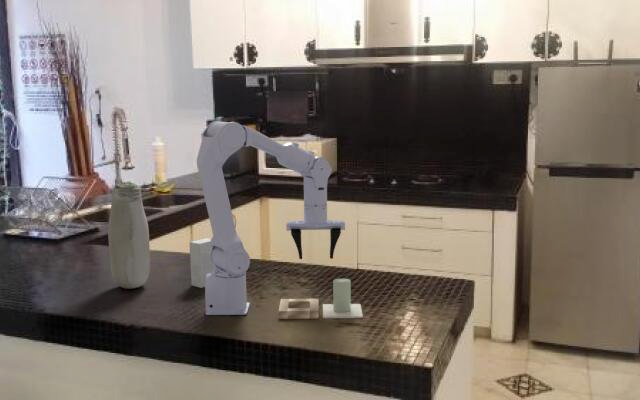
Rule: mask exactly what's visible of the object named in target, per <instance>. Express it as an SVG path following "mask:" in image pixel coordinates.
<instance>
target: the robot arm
mask: <svg viewBox="0 0 640 400" xmlns="http://www.w3.org/2000/svg"><path fill="white" fill-rule="evenodd" d="M299 146H300V144H299V143H298V142H295V141H292V142H286V143H284V144H282V143H280V142H278V141H277V140H274V139H272V138H270V137H269V136H267V135H265V134H263V133H261V132H259V131H258V130H256V129H253V128H252V127H249V126H247V125H243V124H242V125H241V124H240V123H238V122H237V121H236V122H235V121H230V122H229V121H228V122H227V121H221V120H214V121H212V122H210V123H209V124H208V125H207V126H206V127H205V129H204V130H203V132H201V142H200V146H199V149H198V153H197V156H196V165H197V170H198V175H199V179H200V184H201V188H202V193H203V196H204V201H205V205H206V210H207V214H208V218H209V223H210V227H211V228H210V229H211V231H212V237H211V238H210V239H211V253H210V259H211V262H212V263H213V264H214V265H215V273H213V274H207V275H206V280H205V287H204V292H205V293H204V294H205V296H204V297H205V298H204V299H205V315H206V316H231V315H232V316H234V315H235V316H237V315H238V316H244V315H245V316H246V315H248V312H249V308H250V306H251V302H248V300H247V299H248V298H247V275H246V274H247V271H248V269H249V267H250V265H251V258H250V255H249V253H248V251H247V250H246V249H245V248H244V244H243V241H242V239H241V238H240V236H239V235H238V233H237V229H236V225H235V222H234V221H235V220H234V216H233V213H232V208H231V203H230V199H229V198H230V197H229V195H228V189H227V185H226V180H225V175H224V171H223V166H224V164H225V163H226V161H227V160H228V159H229V157H230V156H232V155H233V154H234V153H236V152H237V151H239V150H240V149H241V148H242V147H245V148H246V147H252V148H254V149H257V150H260V151H261V152H265V153H267V154H269V155H271V156H273V157H275V158H276V160H277V163H278V164H279V165H281V166H283V167H284V168H287V169H289V170H291V171H293V172H296V173H297V174H299V175H300V176H301V177H302V178H303V220H295V221H294V220H293V221H286V231H289V232H290V234H291V237H292V239H293V241H294V244H295V246H296V248H297V252H298V253H297V254H298V257H299V260H303V247H302V231H312V230H313V231H317V230H319V231H320V230H322V231H323V230H324V231H325V230H327V231H328V230H329V232H330V235H329V236H330V237H329V238H330V247H329V258H330V259H331V260H332V259H334V253H335V249H336V246H337V243H338V240H339V238H340V236H341V234H342V233H341V232H342V231H344V230H346V222H345V220H331V219H329V220H328V179H329V178H330V177H331V174H332V169H333V168H332V167H331V166H330V162H328V159H326V158H325V157H323V156H315V152H314V151H312V150H306V149H303V148H301V147H299Z"/></svg>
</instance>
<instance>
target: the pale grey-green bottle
mask: <svg viewBox="0 0 640 400" xmlns="http://www.w3.org/2000/svg"><path fill="white" fill-rule="evenodd" d="M110 196H111V198H110V199H111V200H110V201H111V202H110V212H109V218H108V224H107V225H108V228H107V234H108V235H107V237H108V248H109V251H108V252H109V263H110V272H111V276H112V279H113V282H115V283H116V285H118V286H119V287H120V288H123V289H126V290H129V289H130V290H131V289H137V288H141V287H142V286H143V285H145V283H146V282H147V280H148V278H149V276H150V273H151V258H150V257H151V256H150V255H151V254H150V230H149V223H148V218H147V215H146V212H145V209H144V208H145V207H144V204H143V197H142V192H141V189H140V188H139V186H138V185H137V184H135V183H134V182H131V181H123V182H120V183H117V184H115V186H114V187H113V188H112V191H111V195H110Z"/></svg>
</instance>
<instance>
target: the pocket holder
mask: <svg viewBox="0 0 640 400" xmlns="http://www.w3.org/2000/svg"><path fill="white" fill-rule="evenodd" d="M319 301H320V300H319V298H280V302H279V306H278V307H279V308H278V319H279V320H280V319H281V320H288V319H289V320H290V319H293V320H296V319H298V320H299V319H301V320H303V319H319V318H320V317H319V307H320V306H319Z"/></svg>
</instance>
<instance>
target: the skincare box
mask: <svg viewBox="0 0 640 400" xmlns="http://www.w3.org/2000/svg"><path fill="white" fill-rule="evenodd" d="M211 239H212V238H207V237H205V238H202V239H198V240H197V239H196V240H194V241H193V240H192V241H189V257H190V258H189V260H190V278H191V280H190V281H191V286H193V287H197V288H200V289H203V288H205V280H206V275H207V274H213V273H215V265H214V264H213V263H212V262H211V259H210V253H211Z"/></svg>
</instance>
